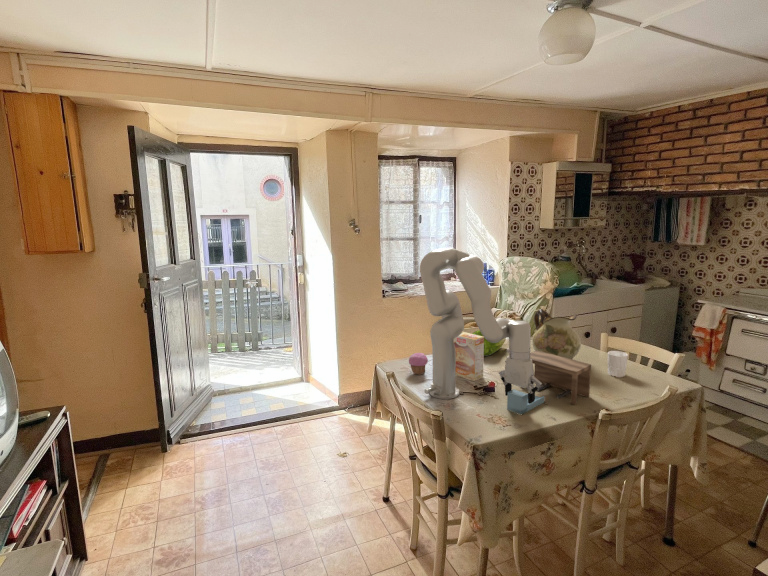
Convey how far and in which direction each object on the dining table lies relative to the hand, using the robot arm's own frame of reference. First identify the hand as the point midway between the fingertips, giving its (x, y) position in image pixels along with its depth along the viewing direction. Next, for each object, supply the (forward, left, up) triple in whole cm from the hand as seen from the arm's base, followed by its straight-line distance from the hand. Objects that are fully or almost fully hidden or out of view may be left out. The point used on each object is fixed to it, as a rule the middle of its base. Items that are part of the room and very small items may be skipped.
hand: (519, 398), depth 156 cm
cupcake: (-2, +53, -5) cm, 53 cm away
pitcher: (+60, +20, -5) cm, 63 cm away
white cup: (+64, -8, -5) cm, 65 cm away
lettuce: (+49, +50, -5) cm, 70 cm away
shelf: (+26, +1, -5) cm, 26 cm away
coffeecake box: (+13, +37, -5) cm, 39 cm away
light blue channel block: (+6, +1, -5) cm, 8 cm away
